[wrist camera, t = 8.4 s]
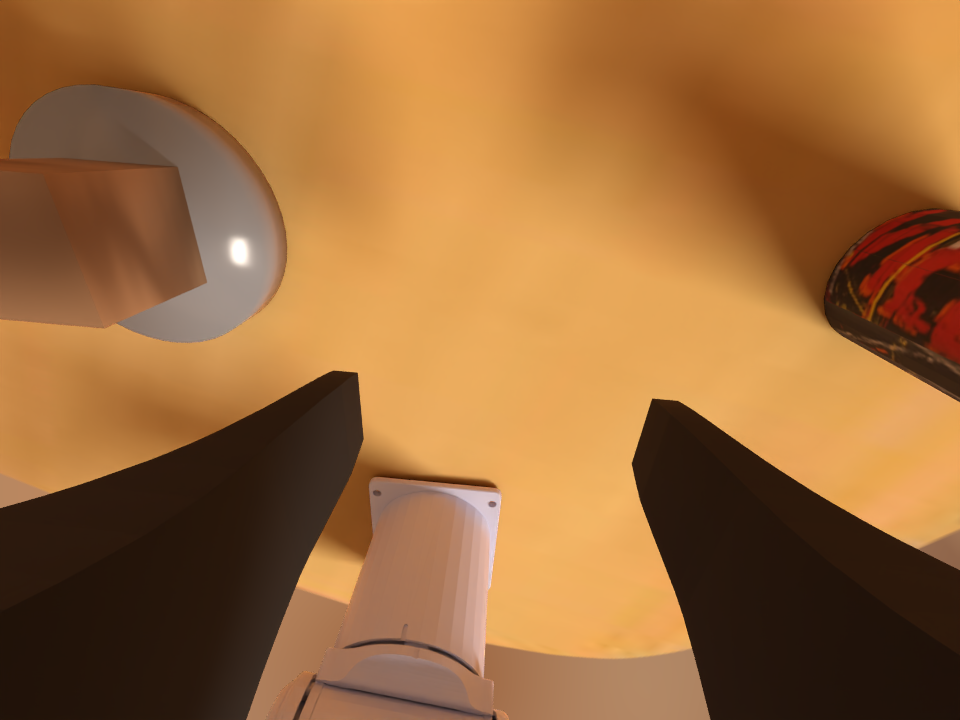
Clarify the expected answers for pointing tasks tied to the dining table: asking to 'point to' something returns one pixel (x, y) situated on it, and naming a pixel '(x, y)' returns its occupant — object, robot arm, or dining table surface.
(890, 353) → the deodorant
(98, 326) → the walnut block
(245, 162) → the grey disc
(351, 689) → the robot arm
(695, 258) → the dining table surface
